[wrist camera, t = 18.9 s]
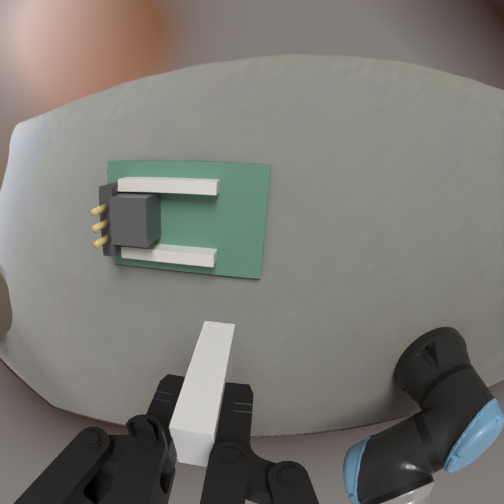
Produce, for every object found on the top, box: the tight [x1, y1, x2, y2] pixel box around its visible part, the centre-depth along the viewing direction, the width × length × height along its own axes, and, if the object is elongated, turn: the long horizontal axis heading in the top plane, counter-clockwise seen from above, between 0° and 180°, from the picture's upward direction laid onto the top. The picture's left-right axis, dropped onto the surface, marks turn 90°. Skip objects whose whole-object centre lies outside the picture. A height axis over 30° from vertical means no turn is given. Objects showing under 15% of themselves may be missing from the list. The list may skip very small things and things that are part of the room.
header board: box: [91, 161, 270, 279], centre depth 34 cm, size 15×22×8 cm
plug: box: [109, 192, 161, 248], centre depth 34 cm, size 6×5×5 cm
